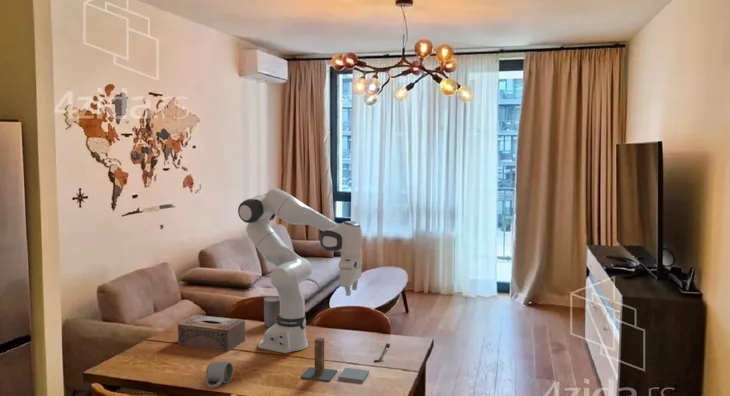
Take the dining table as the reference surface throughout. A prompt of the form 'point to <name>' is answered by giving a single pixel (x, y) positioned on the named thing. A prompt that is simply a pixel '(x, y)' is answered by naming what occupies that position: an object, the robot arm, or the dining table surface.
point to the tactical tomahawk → (383, 353)
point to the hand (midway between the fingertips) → (351, 292)
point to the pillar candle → (271, 310)
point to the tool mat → (326, 375)
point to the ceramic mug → (219, 373)
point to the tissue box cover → (211, 332)
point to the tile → (353, 375)
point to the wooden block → (319, 356)
